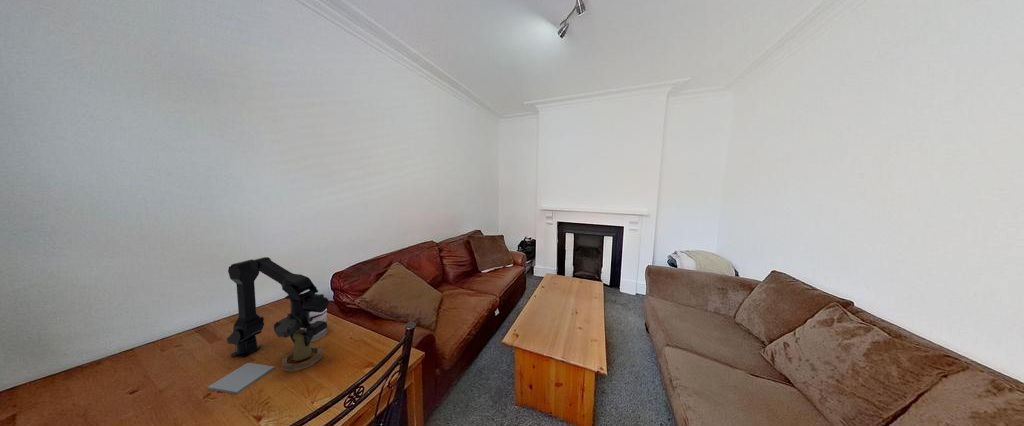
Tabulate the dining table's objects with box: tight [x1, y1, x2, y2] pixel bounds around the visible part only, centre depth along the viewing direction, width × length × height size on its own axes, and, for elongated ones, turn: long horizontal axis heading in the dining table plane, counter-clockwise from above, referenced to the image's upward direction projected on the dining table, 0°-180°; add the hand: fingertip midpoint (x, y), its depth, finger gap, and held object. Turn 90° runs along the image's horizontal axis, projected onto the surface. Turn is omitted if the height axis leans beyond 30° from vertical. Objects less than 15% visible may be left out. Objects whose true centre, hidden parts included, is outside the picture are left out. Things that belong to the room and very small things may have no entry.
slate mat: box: [206, 362, 275, 395], centre depth 91 cm, size 12×12×1 cm
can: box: [310, 308, 328, 342], centre depth 117 cm, size 11×11×12 cm
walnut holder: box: [280, 344, 323, 373], centre depth 101 cm, size 12×12×2 cm
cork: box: [292, 329, 313, 362], centre depth 101 cm, size 6×6×11 cm
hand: (302, 345), depth 101 cm, fingers closed on cork, 4 cm apart
